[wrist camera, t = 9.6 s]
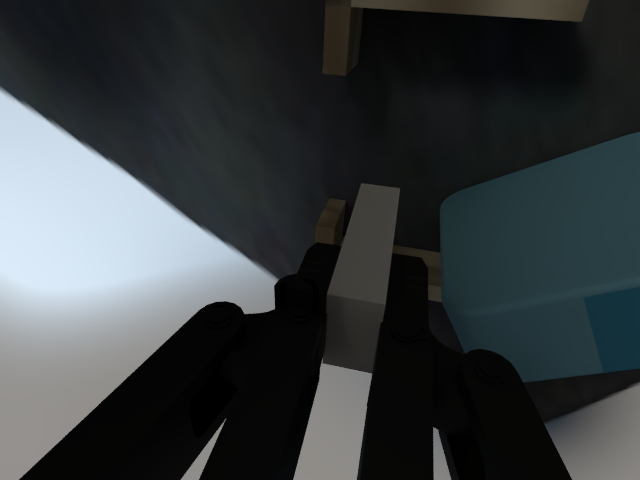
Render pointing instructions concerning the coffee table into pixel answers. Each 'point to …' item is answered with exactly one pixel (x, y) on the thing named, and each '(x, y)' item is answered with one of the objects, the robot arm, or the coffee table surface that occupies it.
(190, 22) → the coffee table surface
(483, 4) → the shelf bay
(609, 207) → the data package
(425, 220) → the coffee table surface
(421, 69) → the coffee table surface
